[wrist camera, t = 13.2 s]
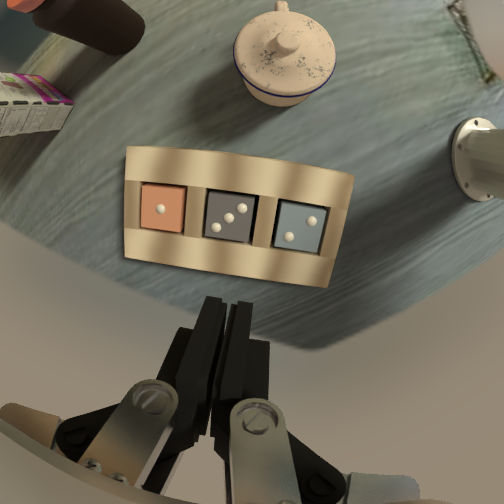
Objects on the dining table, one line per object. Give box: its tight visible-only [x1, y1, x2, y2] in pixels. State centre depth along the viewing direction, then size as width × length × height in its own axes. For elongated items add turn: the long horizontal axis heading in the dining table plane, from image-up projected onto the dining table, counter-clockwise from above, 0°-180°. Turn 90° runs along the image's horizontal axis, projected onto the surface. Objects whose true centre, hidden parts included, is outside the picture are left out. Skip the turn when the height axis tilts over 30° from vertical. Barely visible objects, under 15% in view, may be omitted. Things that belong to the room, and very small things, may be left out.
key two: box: [274, 198, 326, 253], centre depth 32 cm, size 5×5×3 cm
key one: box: [141, 182, 188, 232], centre depth 32 cm, size 5×5×3 cm
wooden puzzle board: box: [124, 146, 355, 288], centre depth 32 cm, size 26×14×3 cm, turn 82°
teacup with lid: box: [233, 1, 336, 107], centre depth 21 cm, size 12×9×12 cm
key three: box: [205, 189, 256, 242], centre depth 32 cm, size 5×5×3 cm
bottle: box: [7, 0, 145, 55], centre depth 16 cm, size 7×7×20 cm
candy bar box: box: [0, 72, 75, 138], centre depth 21 cm, size 11×5×16 cm, turn 49°
